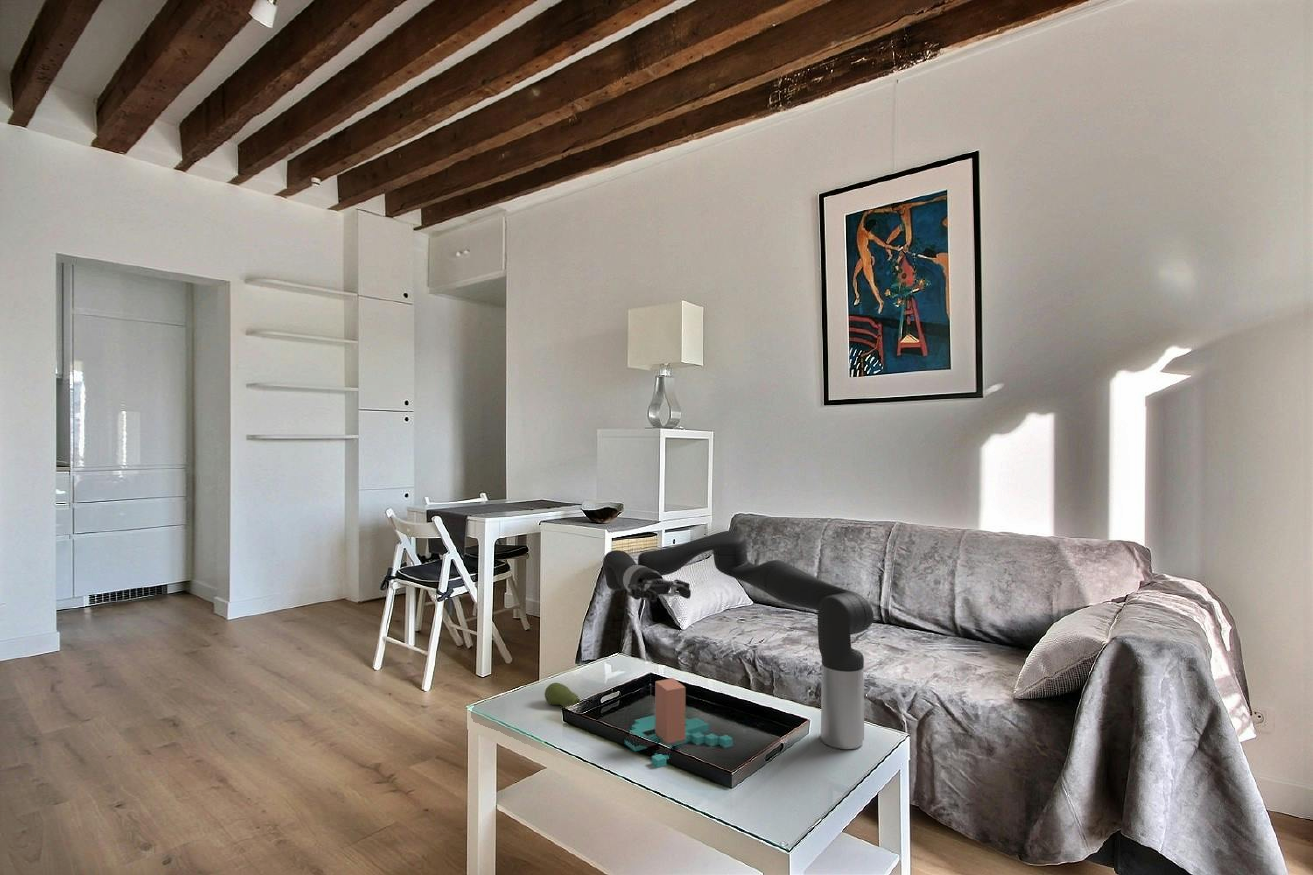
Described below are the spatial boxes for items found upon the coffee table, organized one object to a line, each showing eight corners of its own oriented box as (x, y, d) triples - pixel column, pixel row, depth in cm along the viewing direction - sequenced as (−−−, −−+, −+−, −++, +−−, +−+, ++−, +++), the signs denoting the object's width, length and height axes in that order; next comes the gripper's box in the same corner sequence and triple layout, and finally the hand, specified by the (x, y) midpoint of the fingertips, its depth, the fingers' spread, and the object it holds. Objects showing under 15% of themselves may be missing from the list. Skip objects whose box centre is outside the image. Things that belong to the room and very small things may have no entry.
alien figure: (732, 748, 155) (681, 717, 172) (732, 738, 155) (681, 708, 172) (657, 771, 144) (610, 735, 161) (657, 760, 144) (610, 726, 161)
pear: (556, 677, 181) (586, 691, 176) (553, 696, 182) (583, 711, 176) (541, 683, 176) (572, 698, 171) (538, 703, 177) (569, 718, 172)
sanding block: (673, 730, 158) (673, 678, 158) (685, 741, 153) (685, 687, 153) (655, 734, 156) (655, 681, 156) (666, 745, 151) (667, 690, 151)
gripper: (616, 569, 171) (644, 581, 157) (668, 564, 177) (699, 577, 163) (616, 599, 171) (644, 615, 157) (668, 594, 178) (699, 609, 163)
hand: (672, 595), depth 160 cm, fingers open, 8 cm apart
